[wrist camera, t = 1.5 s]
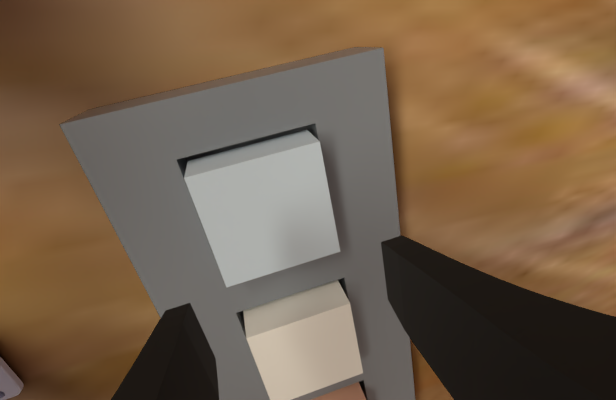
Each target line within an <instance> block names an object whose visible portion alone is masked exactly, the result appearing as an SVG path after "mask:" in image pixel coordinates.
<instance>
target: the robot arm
mask: <svg viewBox="0 0 616 400" xmlns="http://www.w3.org/2000/svg"><path fill="white" fill-rule="evenodd" d="M381 248H382V256H383V264H384V272H385V280H386V289H387V297H388V301H389V302H390V304H391V306H392V308H393V310H394V312H395V314H396V316H397V317H398V319H399V321H400V323H401V324H402V326H403V328H404V330H405V332H406V333H407V334H408V336H409V337H410V339H411V340H412V342H413V343H414V344H415V346H416V347H417V349H418V350H419V351H420V353H421V354H422V356H423V357H424V358H425V360H426V361H427V363H428V364H429V365H430V367H431V368H432V370H433V371H434V372H435V374H436V375H437V376H438V378H439V379H440V381H441V382H442V383H443V385H444V386H445V388H446V389H447V390H448V392H449V393H450V394H451V396H452V397H453V399H454V400H616V317H614V316H610V315H606V314H603V313H599V312H596V311H592V310H588V309H585V308H582V307H578V306H575V305H572V304H569V303H566V302H563V301H559V300H556V299H553V298H550V297H547V296H544V295H541V294H538V293H535V292H532V291H529V290H527V289H524V288H521V287H519V286H516V285H513V284H511V283H508V282H506V281H503V280H501V279H498V278H495V277H493V276H490V275H488V274H486V273H483V272H481V271H478V270H476V269H474V268H472V267H469V266H467V265H465V264H462V263H460V262H458V261H456V260H454V259H451V258H449V257H447V256H445V255H443V254H441V253H439V252H436V251H434V250H432V249H430V248H428V247H426V246H424V245H422V244H419V243H417V242H415V241H413V240H411V239H409V238H406V237H404V236H398V237H395V238H392V239H389V240H386V241H383V242H381ZM23 386H24V384H23V382H22V381H21V380H20V379H19V378H18V376H17V375H16V374H15V373H14V372H13V371H12V370H11V368H10V367H9V366H8V365H7V364H6V363H5V361H4V360H3V359H2V358H1V357H0V400H6V399H9V398H12V397H15V396H17V395H19V394H20V392H21V391H22V389H23ZM111 400H219V389H218V377H217V367H216V358H215V356H214V354H213V351H212V349H211V347H210V345H209V343H208V341H207V338H206V336H205V334H204V332H203V330H202V328H201V325H200V323H199V321H198V319H197V317H196V315H195V312H194V310H193V308H192V306H191V304H190V303H187V304H184V305H181V306H178V307H175V308H172V309H169V310H166V311H165V312H164V314H163V315H162V317H161V319H160V320H159V322H158V324H157V325H156V327H155V329H154V330H153V332H152V334H151V335H150V337H149V339H148V340H147V342H146V344H145V346H144V347H143V349H142V351H141V352H140V354H139V356H138V357H137V359H136V361H135V362H134V364H133V366H132V367H131V369H130V370H129V372H128V374H127V375H126V377H125V378H124V380H123V382H122V383H121V385H120V386H119V388H118V390H117V391H116V393H115V394H114V396H113V397H112V399H111Z"/></svg>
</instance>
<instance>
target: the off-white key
mask: <svg viewBox="0 0 616 400" xmlns="http://www.w3.org/2000/svg"><path fill="white" fill-rule="evenodd" d="M243 313H244V322H245V331H246V339H247V342H248V344H249V347H250V349H251V352H252V354H253V357H254V360H255V362H256V365H257V367H258V370H259V373H260V375H261V378H262V380H263V383H264V385H265V388H266V391H267V393H268V396H269V398H270V400H292V399H294V398H297V397H300V396H302V395H305V394H308V393H311V392H313V391H316V390H319V389H321V388H324V387H327V386H330V385H332V384H335V383H338V382H340V381H343V380H346V379H349V378H351V377H354V376H357V375H359V374H362V373H363V369H362V364H361V359H360V353H359V348H358V343H357V337H356V332H355V327H354V321H353V316H352V311H351V305H350V302H349V300H348V298H347V296H346V295H345V293H344V291H343V289H342V287H341V285H340V283H339V281H338V280H335V281H332V282H329V283H326V284H323V285H320V286H317V287H314V288H311V289H308V290H305V291H302V292H299V293H295V294H292V295H289V296H286V297H283V298H280V299H277V300H274V301H271V302H268V303H265V304H262V305H259V306H256V307H253V308H250V309H247V310H244V311H243Z"/></svg>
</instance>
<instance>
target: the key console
mask: <svg viewBox="0 0 616 400" xmlns="http://www.w3.org/2000/svg"><path fill="white" fill-rule="evenodd" d="M59 125H60V127H61V129H62V131H63V132H64V134H65V136H66V138H67V140H68V142H69V144H70V146H71V148H72V150H73V152H74V153H75V155H76V157H77V159H78V161H79V163H80V165H81V167H82V169H83V171H84V173H85V174H86V176H87V178H88V180H89V182H90V184H91V186H92V188H93V190H94V192H95V193H96V195H97V197H98V199H99V201H100V203H101V205H102V207H103V209H104V211H105V213H106V214H107V216H108V218H109V220H110V222H111V224H112V226H113V228H114V230H115V232H116V234H117V235H118V237H119V239H120V241H121V243H122V245H123V247H124V249H125V251H126V253H127V255H128V256H129V258H130V260H131V262H132V264H133V266H134V268H135V270H136V272H137V274H138V276H139V277H140V279H141V281H142V283H143V285H144V287H145V289H146V291H147V293H148V295H149V297H150V298H151V300H152V302H153V304H154V306H155V308H156V310H157V312H158V314H159V316H160V318H161V317H162V315H163V314H164V312H165V311H166V310H169V309H172V308H175V307H178V306H181V305H184V304H187V303H190V304H191V306H192V308H193V310H194V312H195V315H196V317H197V319H198V321H199V323H200V325H201V328H202V330H203V332H204V334H205V336H206V338H207V341H208V343H209V345H210V347H211V349H212V351H213V354H214V356H215V358H216V367H217V377H218V389H219V400H270V398H269V396H268V393H267V391H266V388H265V385H264V383H263V380H262V378H261V375H260V373H259V370H258V367H257V365H256V362H255V360H254V357H253V354H252V352H251V349H250V347H249V344H248V342H247V339H246V331H245V322H244V313H243V311H244V310H247V309H250V308H253V307H256V306H259V305H262V304H265V303H268V302H271V301H274V300H277V299H280V298H283V297H286V296H289V295H292V294H295V293H299V292H302V291H305V290H308V289H311V288H314V287H317V286H320V285H323V284H326V283H329V282H332V281H335V280H338V281H339V283H340V285H341V287H342V289H343V291H344V293H345V295H346V296H347V298H348V300H349V302H350V305H351V311H352V316H353V321H354V327H355V332H356V337H357V343H358V348H359V353H360V359H361V364H362V369H363V373H362V374H359V375H357V376H354V377H351V378H349V379H346V380H343V381H340V382H338V383H335V384H332V385H330V386H327V387H324V388H321V389H319V390H316V391H313V392H311V393H308V394H305V395H302V396H300V397H297V398H294V399H292V400H311V399H314V398H317V397H319V396H322V395H325V394H327V393H330V392H333V391H335V390H338V389H341V388H343V387H346V386H349V385H351V384H354V383H357V382H359V384H360V386H361V389H362V391H363V393H364V396H365V398H366V400H415V390H414V379H413V368H412V357H411V346H410V337H409V336H408V334H407V333H406V332H405V330H404V328H403V326H402V324H401V323H400V321H399V319H398V317H397V316H396V314H395V312H394V310H393V308H392V306H391V304H390V302H389V301H388V297H387V289H386V280H385V272H384V264H383V256H382V248H381V242H383V241H386V240H389V239H392V238H395V237H398V236H400V225H399V214H398V203H397V192H396V181H395V170H394V159H393V148H392V137H391V126H390V115H389V104H388V93H387V82H386V71H385V60H384V49H383V48H376V47H354V48H350V49H345V50H341V51H337V52H332V53H328V54H324V55H320V56H315V57H311V58H307V59H303V60H298V61H294V62H290V63H286V64H281V65H277V66H273V67H268V68H264V69H260V70H256V71H251V72H247V73H243V74H239V75H234V76H230V77H226V78H222V79H217V80H213V81H209V82H204V83H200V84H196V85H192V86H187V87H183V88H179V89H175V90H170V91H166V92H162V93H158V94H153V95H149V96H145V97H140V98H136V99H132V100H128V101H123V102H119V103H115V104H111V105H106V106H102V107H98V108H94V109H89V110H86V111H84V112H83V113H81V114H79V115H77V116H75V117H73V118H71V119H69V120H67V121H65V122H63V123H61V124H59ZM304 130H308V131H309V132H310V133H311V134H312V135H313V136H314V137H315V138H317V139H318V140H319V141H320V145H321V151H322V156H323V161H324V167H325V172H326V177H327V183H328V188H329V193H330V199H331V204H332V209H333V215H334V220H335V225H336V231H337V236H338V241H339V247H340V252H337V253H334V254H331V255H328V256H325V257H322V258H318V259H315V260H312V261H309V262H306V263H303V264H299V265H296V266H293V267H290V268H287V269H284V270H280V271H277V272H274V273H271V274H268V275H265V276H262V277H258V278H255V279H252V280H249V281H246V282H243V283H239V284H236V285H233V286H230V287H226V285H225V282H224V280H223V277H222V275H221V272H220V269H219V267H218V264H217V262H216V259H215V257H214V254H213V251H212V249H211V246H210V244H209V241H208V239H207V236H206V233H205V231H204V228H203V226H202V223H201V220H200V218H199V215H198V213H197V210H196V208H195V205H194V202H193V200H192V197H191V195H190V192H189V190H188V187H187V184H186V182H185V179H184V176H185V171H186V167H187V162H188V161H190V160H193V159H197V158H201V157H205V156H209V155H212V154H216V153H220V152H224V151H228V150H231V149H235V148H239V147H243V146H247V145H250V144H254V143H258V142H262V141H266V140H270V139H273V138H277V137H281V136H285V135H289V134H292V133H296V132H300V131H304Z"/></svg>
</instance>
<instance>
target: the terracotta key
mask: <svg viewBox="0 0 616 400" xmlns="http://www.w3.org/2000/svg"><path fill="white" fill-rule="evenodd" d="M311 400H366V398H365V396H364V393H363V391H362V389H361V386H360V384H359V382H357V383H354V384H351V385H349V386H346V387H343V388H341V389H338V390H335V391H333V392H330V393H327V394H325V395H322V396H319V397H317V398H314V399H311Z"/></svg>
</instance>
